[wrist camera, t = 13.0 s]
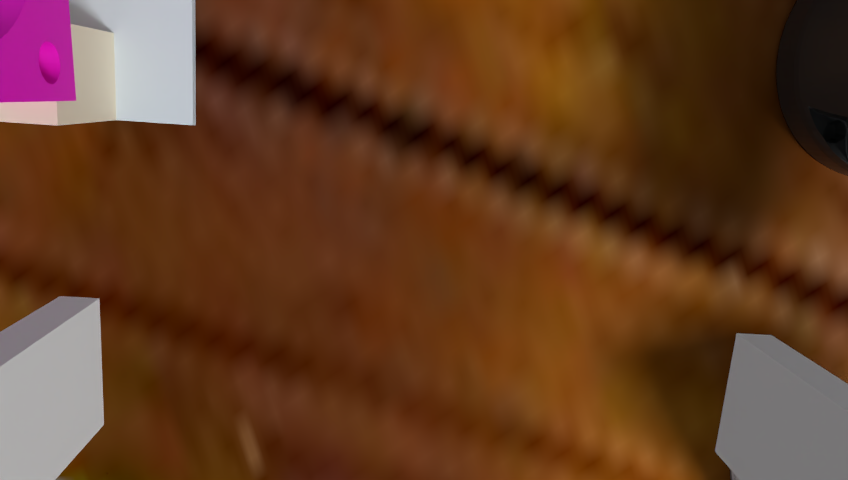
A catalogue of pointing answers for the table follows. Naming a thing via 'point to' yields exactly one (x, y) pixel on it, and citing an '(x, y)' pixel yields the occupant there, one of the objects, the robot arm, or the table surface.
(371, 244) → the table surface
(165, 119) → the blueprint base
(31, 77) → the toy block
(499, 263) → the table surface
